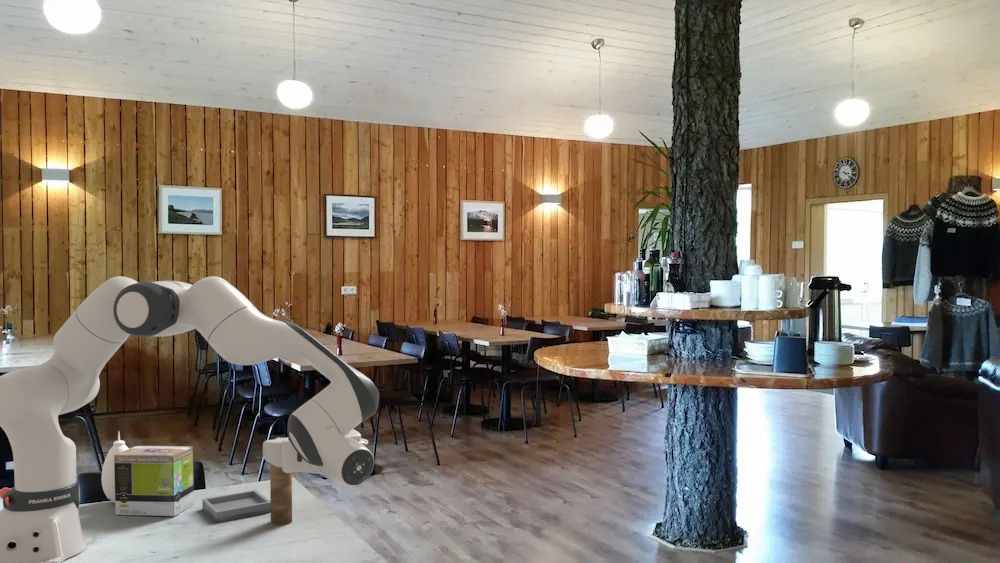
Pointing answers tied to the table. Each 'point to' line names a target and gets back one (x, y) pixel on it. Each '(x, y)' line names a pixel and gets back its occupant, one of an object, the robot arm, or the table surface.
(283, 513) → the pepper mill
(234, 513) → the serving tray
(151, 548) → the table surface
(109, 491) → the sauce bottle
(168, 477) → the tea box
